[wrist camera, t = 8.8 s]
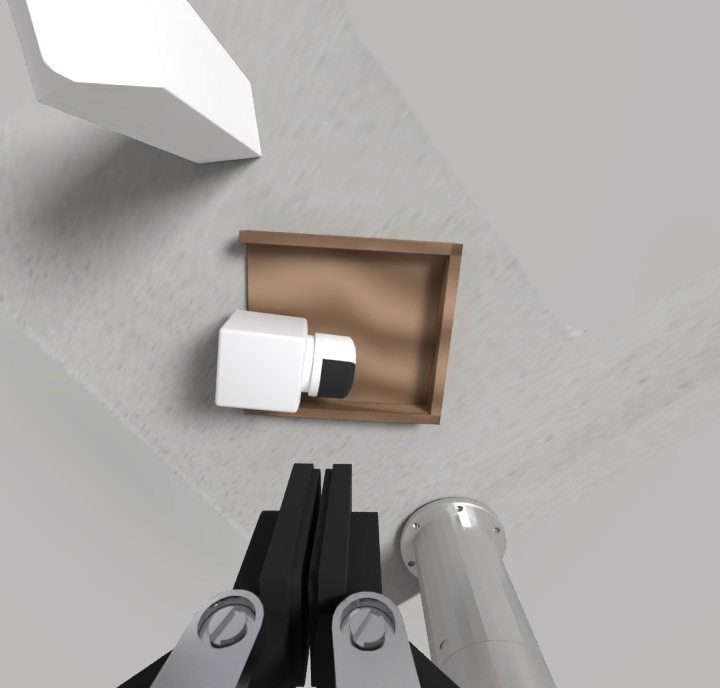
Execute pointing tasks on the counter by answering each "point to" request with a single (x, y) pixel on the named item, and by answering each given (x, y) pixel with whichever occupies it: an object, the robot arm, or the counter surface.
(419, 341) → the walnut tray
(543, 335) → the counter surface
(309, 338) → the medicine bottle
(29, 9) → the milk
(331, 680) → the robot arm
